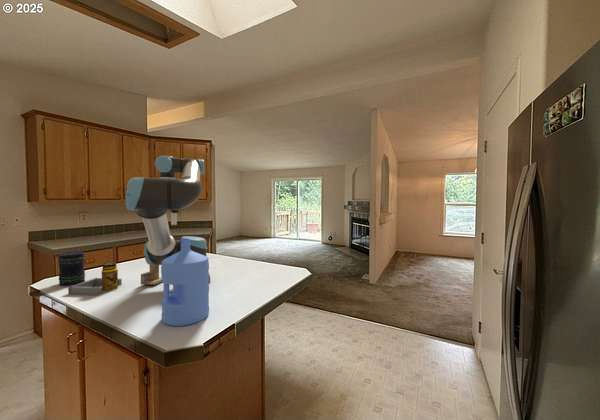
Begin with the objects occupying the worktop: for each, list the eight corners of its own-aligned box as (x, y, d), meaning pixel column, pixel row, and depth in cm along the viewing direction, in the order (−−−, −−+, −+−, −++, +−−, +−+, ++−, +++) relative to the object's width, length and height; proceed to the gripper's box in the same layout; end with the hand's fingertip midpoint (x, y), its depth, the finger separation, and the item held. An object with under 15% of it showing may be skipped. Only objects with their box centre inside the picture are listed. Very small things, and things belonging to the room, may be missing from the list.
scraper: (166, 279, 135) (166, 250, 135) (154, 284, 125) (154, 252, 125) (153, 279, 135) (154, 250, 136) (140, 284, 125) (141, 252, 126)
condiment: (115, 290, 119) (115, 264, 118) (93, 292, 116) (93, 266, 116) (121, 285, 126) (120, 261, 125) (100, 287, 123) (100, 262, 123)
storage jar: (54, 284, 126) (53, 254, 126) (77, 279, 135) (77, 250, 135) (66, 287, 123) (65, 256, 122) (89, 281, 132) (89, 252, 131)
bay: (121, 284, 127) (121, 278, 127) (97, 295, 113) (96, 288, 113) (95, 283, 128) (95, 277, 128) (68, 294, 114) (68, 287, 114)
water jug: (200, 304, 104) (199, 235, 103) (216, 318, 92) (215, 239, 91) (156, 315, 94) (155, 238, 93) (168, 332, 82) (167, 244, 81)
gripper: (171, 187, 149) (171, 223, 150) (147, 184, 124) (147, 228, 125) (184, 187, 149) (185, 223, 150) (162, 184, 124) (163, 228, 125)
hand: (168, 226), depth 137 cm, fingers open, 13 cm apart
